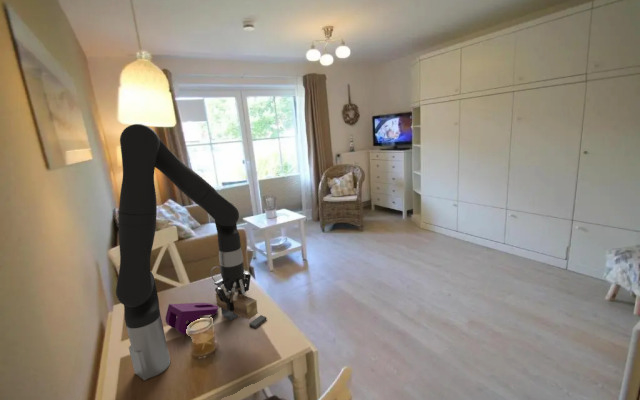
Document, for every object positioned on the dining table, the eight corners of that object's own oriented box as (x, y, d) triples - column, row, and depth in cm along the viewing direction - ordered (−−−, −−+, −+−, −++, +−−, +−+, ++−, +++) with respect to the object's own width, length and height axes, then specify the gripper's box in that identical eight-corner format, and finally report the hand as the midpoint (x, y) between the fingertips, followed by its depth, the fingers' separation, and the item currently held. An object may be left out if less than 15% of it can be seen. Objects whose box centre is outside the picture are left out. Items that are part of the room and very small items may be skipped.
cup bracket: (230, 321, 119) (225, 286, 116) (219, 316, 123) (214, 282, 119) (247, 309, 126) (243, 276, 123) (237, 305, 130) (232, 272, 126)
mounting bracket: (204, 322, 130) (163, 327, 115) (209, 302, 131) (168, 304, 116) (218, 330, 124) (176, 335, 110) (223, 308, 125) (182, 311, 111)
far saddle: (255, 328, 114) (255, 325, 113) (249, 325, 115) (249, 323, 115) (266, 319, 118) (266, 317, 118) (261, 317, 120) (260, 315, 120)
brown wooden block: (248, 319, 100) (247, 305, 99) (217, 306, 109) (215, 293, 108) (257, 313, 104) (256, 299, 103) (226, 300, 112) (224, 288, 111)
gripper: (221, 271, 95) (227, 321, 98) (255, 255, 106) (259, 300, 110) (206, 266, 99) (212, 314, 103) (240, 252, 110) (244, 295, 114)
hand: (236, 307), depth 106 cm, fingers closed on brown wooden block, 4 cm apart
